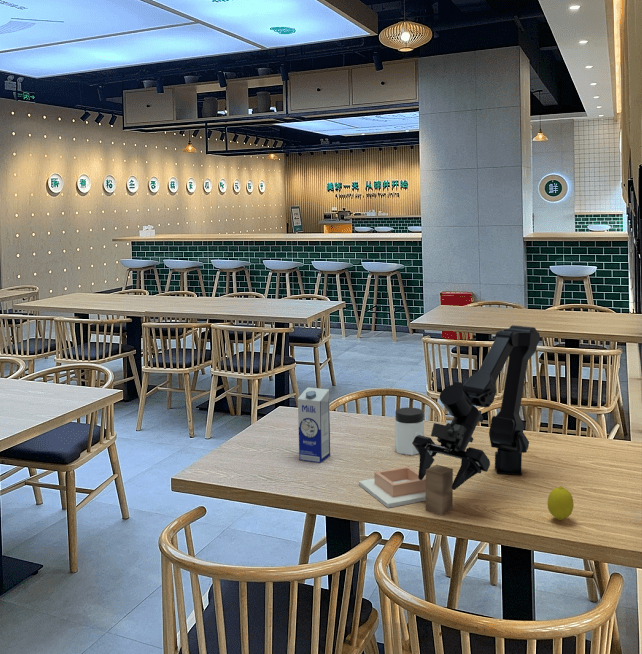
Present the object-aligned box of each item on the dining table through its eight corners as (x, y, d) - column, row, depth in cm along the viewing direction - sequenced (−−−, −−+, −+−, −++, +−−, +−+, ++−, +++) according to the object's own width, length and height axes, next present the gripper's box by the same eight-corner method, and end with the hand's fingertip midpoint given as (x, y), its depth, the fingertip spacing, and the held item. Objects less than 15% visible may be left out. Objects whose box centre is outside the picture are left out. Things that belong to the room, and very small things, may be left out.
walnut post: (436, 504, 169) (436, 464, 168) (452, 509, 166) (452, 468, 165) (425, 510, 166) (425, 469, 164) (441, 515, 163) (442, 474, 161)
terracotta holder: (413, 475, 188) (413, 460, 188) (445, 496, 174) (445, 481, 173) (358, 484, 182) (358, 470, 182) (387, 507, 168) (387, 491, 167)
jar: (406, 457, 202) (406, 416, 200) (388, 449, 209) (388, 410, 207) (430, 451, 207) (430, 411, 205) (411, 444, 214) (411, 405, 212)
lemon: (567, 514, 162) (568, 481, 161) (576, 525, 157) (578, 490, 155) (543, 515, 162) (544, 482, 161) (552, 526, 156) (553, 491, 155)
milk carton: (330, 455, 205) (329, 388, 202) (321, 463, 199) (319, 394, 196) (308, 452, 208) (307, 386, 204) (298, 460, 202) (297, 391, 198)
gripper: (416, 402, 172) (388, 458, 165) (484, 416, 159) (457, 477, 153) (434, 426, 179) (408, 480, 172) (501, 441, 166) (475, 500, 160)
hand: (435, 484), depth 164 cm, fingers open, 9 cm apart
